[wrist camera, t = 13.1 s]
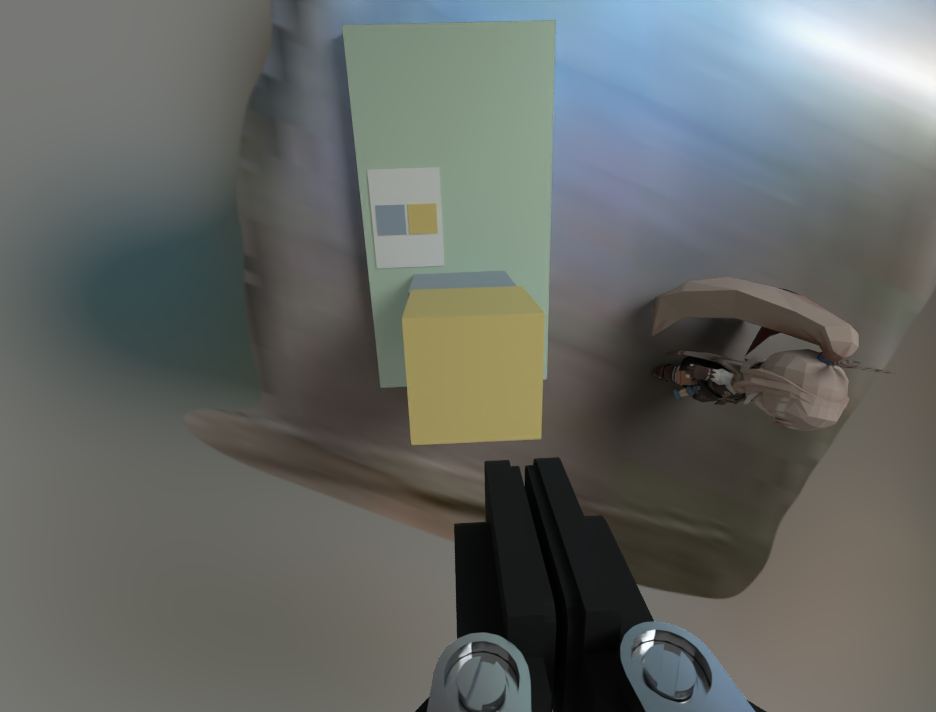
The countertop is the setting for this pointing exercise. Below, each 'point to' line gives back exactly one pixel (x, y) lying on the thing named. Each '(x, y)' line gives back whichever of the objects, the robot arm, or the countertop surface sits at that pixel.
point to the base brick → (460, 280)
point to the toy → (759, 379)
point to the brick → (473, 364)
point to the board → (451, 159)
